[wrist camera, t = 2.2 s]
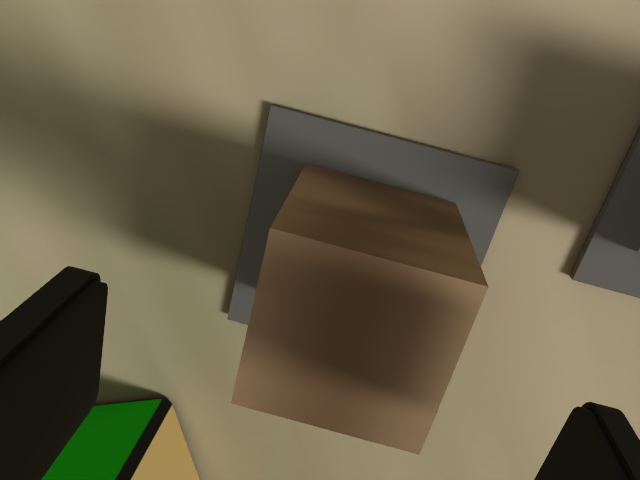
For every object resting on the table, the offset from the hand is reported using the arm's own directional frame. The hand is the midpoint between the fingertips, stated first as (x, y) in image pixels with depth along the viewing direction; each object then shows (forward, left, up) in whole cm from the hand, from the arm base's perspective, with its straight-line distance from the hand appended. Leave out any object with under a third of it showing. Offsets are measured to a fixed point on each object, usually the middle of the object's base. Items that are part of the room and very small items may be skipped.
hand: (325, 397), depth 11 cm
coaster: (0, 0, -9) cm, 9 cm away
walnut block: (0, 0, -8) cm, 8 cm away
